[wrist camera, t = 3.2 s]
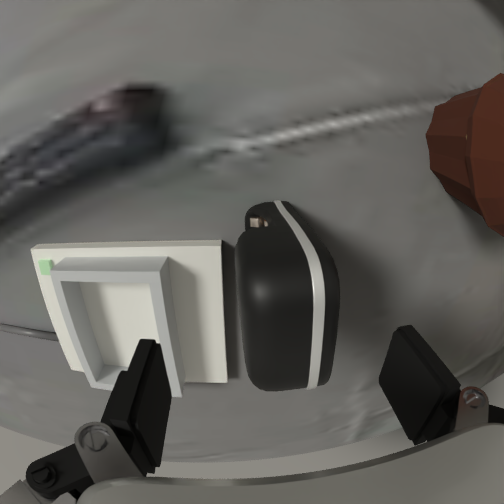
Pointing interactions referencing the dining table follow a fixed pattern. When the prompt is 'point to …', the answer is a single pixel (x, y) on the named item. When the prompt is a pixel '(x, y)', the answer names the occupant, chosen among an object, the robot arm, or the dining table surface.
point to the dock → (135, 306)
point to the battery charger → (286, 299)
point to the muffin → (472, 149)
